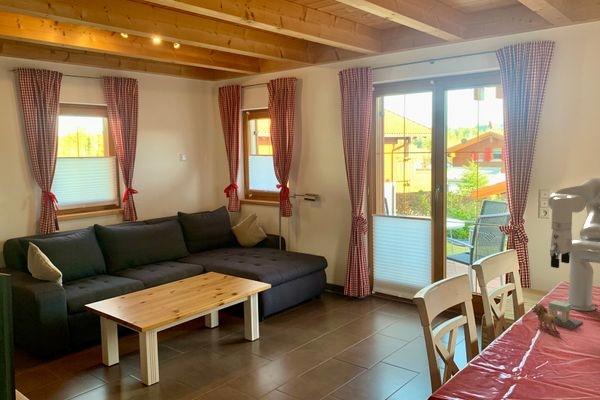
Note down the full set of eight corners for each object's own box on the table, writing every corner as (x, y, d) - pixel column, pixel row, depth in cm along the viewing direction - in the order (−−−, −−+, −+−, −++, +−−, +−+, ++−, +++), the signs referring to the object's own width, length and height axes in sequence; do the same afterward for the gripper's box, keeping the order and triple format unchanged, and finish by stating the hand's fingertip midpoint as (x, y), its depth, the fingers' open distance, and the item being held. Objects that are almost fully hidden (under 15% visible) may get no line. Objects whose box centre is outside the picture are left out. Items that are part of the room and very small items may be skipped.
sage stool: (570, 320, 206) (571, 304, 205) (564, 322, 203) (565, 306, 202) (553, 315, 211) (554, 300, 210) (548, 318, 208) (548, 302, 207)
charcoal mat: (549, 314, 215) (549, 312, 215) (582, 323, 204) (583, 321, 204) (538, 319, 209) (538, 317, 209) (571, 329, 198) (572, 327, 198)
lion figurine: (529, 323, 205) (530, 302, 204) (540, 321, 207) (540, 301, 205) (554, 336, 191) (555, 314, 190) (565, 335, 192) (567, 313, 191)
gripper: (561, 230, 195) (560, 271, 198) (579, 223, 206) (578, 262, 208) (542, 228, 201) (541, 267, 204) (561, 221, 212) (560, 259, 214)
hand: (560, 265), depth 206 cm, fingers open, 9 cm apart
